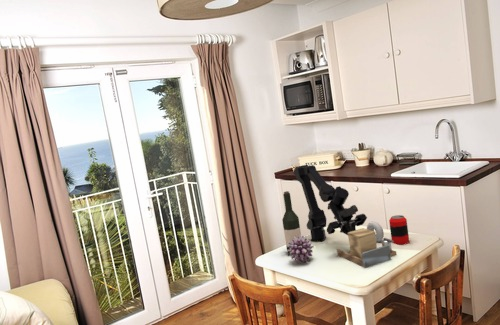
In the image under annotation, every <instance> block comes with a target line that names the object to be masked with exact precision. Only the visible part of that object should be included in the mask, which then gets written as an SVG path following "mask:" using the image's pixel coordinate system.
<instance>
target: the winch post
mask: <svg viewBox="0 0 500 325" xmlns="http://www.w3.org/2000/svg"><path fill="white" fill-rule="evenodd" d="M392 242H393V240H392V239H391V238H387V237H383V239H382V240H381V247H382V246H385V245H389V247H390V255H391V258H392V257H395V256H397V250H396V251H395V250H394V249H393V248H392V244H393V243H392Z"/></svg>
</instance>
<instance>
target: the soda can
mask: <svg viewBox="0 0 500 325" xmlns="http://www.w3.org/2000/svg"><path fill="white" fill-rule="evenodd" d="M388 221H389V223H388V224H389V229H390V237H391V238H390V240H393V242H392V243H391V244H395V245H398V246H403V245H407V244H409V242H410V236H409V229H408V228H409V227H408V220H407V218H406V217H405V216H404V215H401V214H399V215H397V214H396V215H393V216H392V215H391V217H390V218H389V220H388Z"/></svg>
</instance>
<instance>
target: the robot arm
mask: <svg viewBox="0 0 500 325" xmlns="http://www.w3.org/2000/svg"><path fill="white" fill-rule="evenodd" d="M293 175H294V176H295V178H296V180H297V182H299V183H300V184H301V188H302V191H303V193H304V197H305V200H306V203H307V207H308V215H307V218H308V220H307V223H306V228H307V230H310V236H311V239H310V242H323V241H324V240H325V239H326V238H327V235H326V232H327V233H328V235H332V234H334V233H335V232H336V230H337V229H339V233H342V234H345V235H346V236H348V232H351V231H355V230H357V229H356V227H360V226H363V225H364V224H365V222H366V220H367V219H368V217H367V215H366V214H365V213H359V214H357V212H359V209H358V207H357V205H356V204H352V205H350V207H346V208H345V207H344V205H345V203H346V201H347V200H348V197H349V195H350V194H349V193H350V192H349V191H348V190H347V189H346V188H342V187H341V186H340V185H339V186H336V187H334V186H333V185H331V184H328V183H327V182H326V181H325V179H324V178H323V176H322V175H321V174H320V173H319V171H318V170H317V169H316V166H315V165H313V164H312V165H308V164H304V165H303V164H302V165H299V166H295V168H294V170H293ZM312 183H313V184H314V186H315V187H316V188H317V190H318V195H319V198H320V200H321V201H323V203H327V202H329V203H328V204H327V210H328V211H329V210H330V211H331V213H332V214H333V216H334V217H333V219H334V220H335V221H331V222H329V223H328V224H327V216H326V214H325V211H324V210H323V209H321V208H320V207H319V203H318V201H317V197H316V195H315V192H314V191H315V190H314V188H313V184H312ZM354 215H356V216H355V217H354ZM353 217H354V218H353ZM327 225H328V226H327ZM325 228H326V229H325Z"/></svg>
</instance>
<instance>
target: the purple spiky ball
mask: <svg viewBox="0 0 500 325" xmlns="http://www.w3.org/2000/svg"><path fill="white" fill-rule="evenodd" d="M309 242H310V243H309ZM289 244H290V245H289V247H290V248H289V250H287V249H286V252H287V251H288V252H290V255H289V256H291V255H292V256H291V257H290V258H291V260H295V261H297V263H300V261H301V263H303V262H304V261H305V262H308V259H309V258H310V257H313V248H314V245H313V244H312V242H311V239H308V240H307V237H304V235H301V239H300V237H299V236H298V239H297V238H296V237H294V240H292V243H291V242H289ZM309 260H310V259H309Z"/></svg>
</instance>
